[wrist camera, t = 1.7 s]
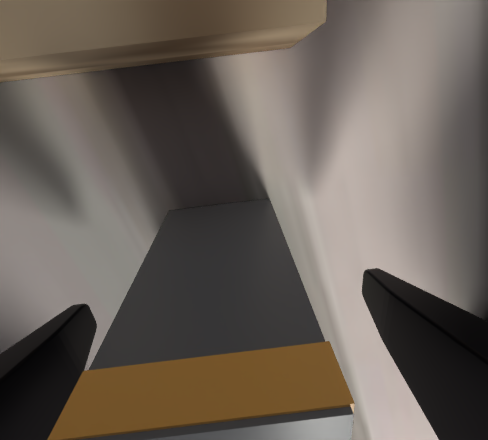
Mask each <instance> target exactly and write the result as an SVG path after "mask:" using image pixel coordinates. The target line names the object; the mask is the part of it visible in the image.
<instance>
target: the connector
mask: <svg viewBox="0 0 488 440" xmlns="http://www.w3.org/2000/svg"><path fill="white" fill-rule="evenodd" d="M354 405H355V403H354V401H353V398H352V396H351V393H350V391H349V389H348V386H347V384H346V381H345V379H344V376H343V374H342V371H341V369H340V366H339V364H338V362H337V359H336V357H335V354H334V352H333V349H332V347H331V344H330V342H329V341H327V342H325V339H324V337H323V334H322V332H321V329H320V327H319V324H318V321H317V319H316V316H315V314H314V311H313V309H312V306H311V304H310V301H309V298H308V296H307V293H306V291H305V288H304V286H303V283H302V281H301V278H300V275H299V273H298V270H297V268H296V265H295V263H294V260H293V258H292V255H291V252H290V250H289V247H288V245H287V242H286V240H285V237H284V235H283V232H282V229H281V227H280V224H279V222H278V219H277V217H276V214H275V211H274V209H273V206H272V204H271V201H270V199H261V200H253V201H244V202H236V203H228V204H219V205H211V206H203V207H194V208H186V209H178V210H169V212H168V214H167V216H166V218H165V220H164V222H163V223H162V225H161V227H160V229H159V231H158V233H157V235H156V237H155V239H154V241H153V243H152V245H151V247H150V249H149V251H148V253H147V255H146V257H145V259H144V261H143V263H142V265H141V267H140V269H139V271H138V273H137V275H136V277H135V279H134V281H133V283H132V285H131V287H130V289H129V291H128V293H127V295H126V297H125V299H124V301H123V303H122V305H121V307H120V309H119V311H118V313H117V315H116V317H115V319H114V321H113V323H112V325H111V327H110V329H109V330H108V332H107V334H106V336H105V338H104V340H103V342H102V344H101V346H100V348H99V350H98V352H97V354H96V356H95V358H94V360H93V362H92V364H91V366H90V368H89V370H87V371H83V372H82V374H81V376H80V378H79V380H78V382H77V384H76V386H75V388H74V390H73V391H72V393H71V395H70V397H69V399H68V401H67V403H66V405H65V407H64V409H63V411H62V412H61V414H60V416H59V418H58V420H57V422H56V424H55V426H54V428H53V430H52V432H51V434H50V435H49V437H48V439H47V440H351V436H352V426H353V417H354Z"/></svg>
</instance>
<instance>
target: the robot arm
mask: <svg viewBox="0 0 488 440" xmlns="http://www.w3.org/2000/svg"><path fill="white" fill-rule="evenodd" d="M362 294H363V297H364V300H365V302H366V304H367V307H368V309H369V311H370V313H371V316H372V318H373V320H374V323H375V325H376V327H377V329H378V332H379V334H380V336H381V338H382V340H383V342H384V344H385V346H386V348H387V349H388V351H389V353H390V355H391V356H392V358H393V360H394V362H395V363H396V365H397V367H398V369H399V370H400V372H401V374H402V376H403V377H404V379H405V381H406V383H407V384H408V386H409V388H410V390H411V391H412V393H413V395H414V397H415V398H416V400H417V402H418V404H419V405H420V407H421V409H422V411H423V412H424V414H425V416H426V418H427V419H428V421H429V423H430V425H431V426H432V428H433V430H434V432H435V433H436V435H437V437H438V439H439V440H488V321H486V320H484V319H482V318H479V317H477V316H475V315H473V314H471V313H469V312H467V311H465V310H463V309H461V308H459V307H457V306H455V305H453V304H451V303H449V302H446V301H444V300H442V299H440V298H438V297H436V296H434V295H432V294H430V293H428V292H426V291H424V290H422V289H420V288H418V287H416V286H414V285H411V284H409V283H407V282H405V281H403V280H401V279H399V278H397V277H395V276H393V275H391V274H389V273H387V272H385V271H383V270H381V269H378V268H375V269H367V270H365V271H364V274H363V285H362ZM96 328H97V324H96V321H95V318H94V316H93V314H92V312H91V310H90V307H89V306H88V305H87V304H77V305H73V306H71V307H69V308H68V309H66V310H65V311H63V312H62V313H60V314H59V315H57V316H56V317H54V318H53V319H51V320H50V321H49V322H47V323H46V324H44V325H43V326H41V327H40V328H38V329H37V330H35V331H34V332H32V333H31V334H29V335H28V336H26V337H25V338H23V339H22V340H20V341H19V342H18V343H16V344H15V345H13V346H12V347H10V348H9V349H7V350H6V351H4V352H3V353H1V354H0V440H47V439H48V437H49V435H50V434H51V432H52V430H53V428H54V426H55V424H56V422H57V420H58V418H59V416H60V414H61V412H62V411H63V409H64V407H65V405H66V403H67V401H68V399H69V397H70V395H71V393H72V391H73V390H74V388H75V386H76V384H77V382H78V380H79V378H80V376H81V374H82V372H83V371H84V369H85V365H86V362H87V359H88V356H89V352H90V349H91V346H92V342H93V339H94V336H95V332H96Z"/></svg>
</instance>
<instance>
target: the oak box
mask: <svg viewBox="0 0 488 440" xmlns="http://www.w3.org/2000/svg"><path fill="white" fill-rule="evenodd" d="M326 12H327V0H0V82H8V81H16V80H24V79H33V78H41V77H50V76H58V75H67V74H75V73H83V72H92V71H100V70H109V69H117V68H125V67H134V66H142V65H151V64H159V63H167V62H176V61H184V60H193V59H201V58H210V57H218V56H226V55H235V54H243V53H252V52H260V51H268V50H277V49H285V48H291V47H292V46H294V45H295V44H296V43H298V42H299V41H300V40H302V39H303V38H304V37H306V36H307V35H309V34H310V33H311V32H313V31H314V30H315V29H317V28H318V27H319V26H321V25H322V24H324V23H325V22H326Z"/></svg>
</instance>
